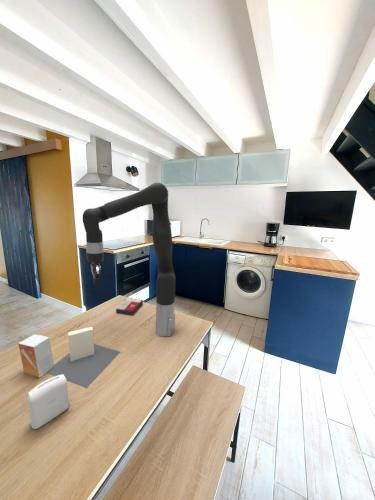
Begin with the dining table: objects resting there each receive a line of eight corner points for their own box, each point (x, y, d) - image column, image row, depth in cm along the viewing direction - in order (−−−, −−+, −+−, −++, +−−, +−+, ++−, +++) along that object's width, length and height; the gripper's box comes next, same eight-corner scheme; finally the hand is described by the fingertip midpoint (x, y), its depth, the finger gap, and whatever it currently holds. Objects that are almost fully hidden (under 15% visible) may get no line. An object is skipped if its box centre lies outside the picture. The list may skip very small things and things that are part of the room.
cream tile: (70, 357, 88) (68, 332, 85) (93, 350, 92) (92, 326, 90) (70, 361, 85) (68, 335, 83) (94, 354, 90) (93, 329, 88)
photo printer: (33, 433, 59) (28, 397, 57) (29, 422, 62) (24, 388, 60) (71, 407, 67) (68, 375, 65) (66, 399, 70) (63, 368, 67)
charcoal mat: (120, 352, 93) (120, 351, 92) (86, 389, 74) (86, 388, 74) (84, 342, 98) (84, 341, 98) (44, 373, 80) (44, 372, 80)
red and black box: (115, 308, 124) (127, 296, 139) (116, 314, 126) (127, 302, 140) (132, 311, 122) (142, 298, 137) (132, 317, 124) (142, 304, 138)
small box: (23, 373, 79) (17, 343, 77) (40, 362, 85) (34, 333, 82) (39, 378, 77) (33, 347, 74) (55, 366, 82) (49, 336, 80)
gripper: (106, 253, 95) (107, 288, 99) (100, 247, 106) (101, 279, 110) (88, 254, 91) (90, 291, 95) (84, 248, 102) (86, 281, 106)
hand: (96, 285), depth 102 cm, fingers closed
